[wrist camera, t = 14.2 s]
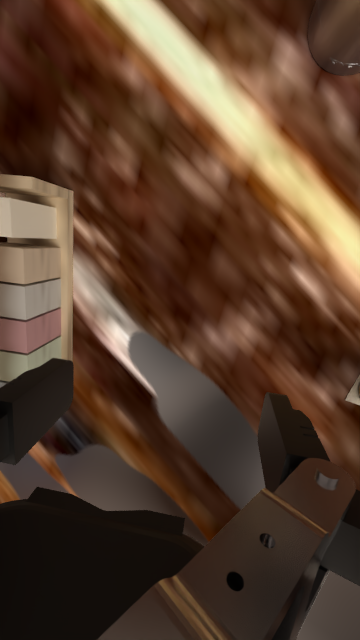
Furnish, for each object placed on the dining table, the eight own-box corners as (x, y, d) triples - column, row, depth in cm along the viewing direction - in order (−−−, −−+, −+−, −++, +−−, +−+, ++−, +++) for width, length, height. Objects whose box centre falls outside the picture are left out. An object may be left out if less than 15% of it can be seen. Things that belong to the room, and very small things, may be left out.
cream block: (17, 204, 40) (-39, 193, 32) (56, 207, 40) (9, 197, 31) (19, 235, 41) (-36, 232, 33) (56, 238, 41) (11, 237, 32)
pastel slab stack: (20, 380, 49) (-26, 412, 40) (12, 185, 41) (-48, 169, 32) (72, 389, 48) (36, 423, 39) (73, 191, 40) (29, 175, 31)
